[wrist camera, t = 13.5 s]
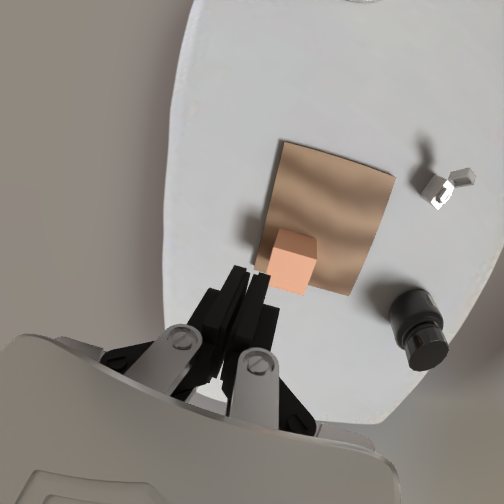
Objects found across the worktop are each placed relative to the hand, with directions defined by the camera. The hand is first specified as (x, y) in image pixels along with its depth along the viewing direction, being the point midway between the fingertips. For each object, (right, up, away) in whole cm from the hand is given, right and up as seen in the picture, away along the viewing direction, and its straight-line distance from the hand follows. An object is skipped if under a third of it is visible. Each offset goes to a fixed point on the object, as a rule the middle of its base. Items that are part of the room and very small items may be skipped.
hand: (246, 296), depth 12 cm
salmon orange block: (+6, +2, +28) cm, 29 cm away
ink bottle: (+29, -8, +29) cm, 42 cm away
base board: (+10, +6, +26) cm, 29 cm away
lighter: (+27, +13, +20) cm, 36 cm away
